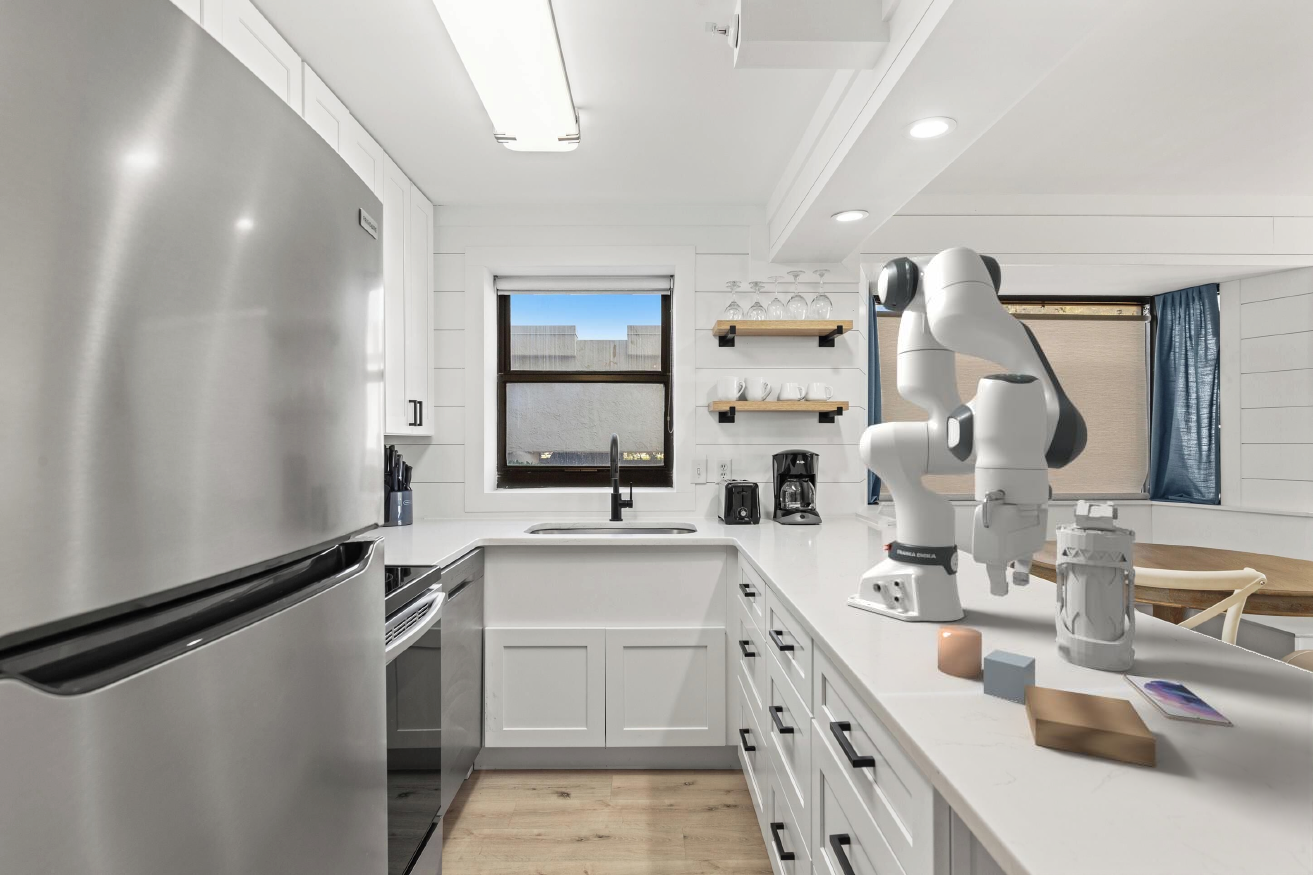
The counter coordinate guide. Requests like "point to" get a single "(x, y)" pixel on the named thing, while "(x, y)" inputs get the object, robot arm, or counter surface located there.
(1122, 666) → the lantern
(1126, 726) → the base slab
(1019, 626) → the counter surface
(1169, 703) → the smartphone
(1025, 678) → the cube
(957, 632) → the peach rounded cylinder
